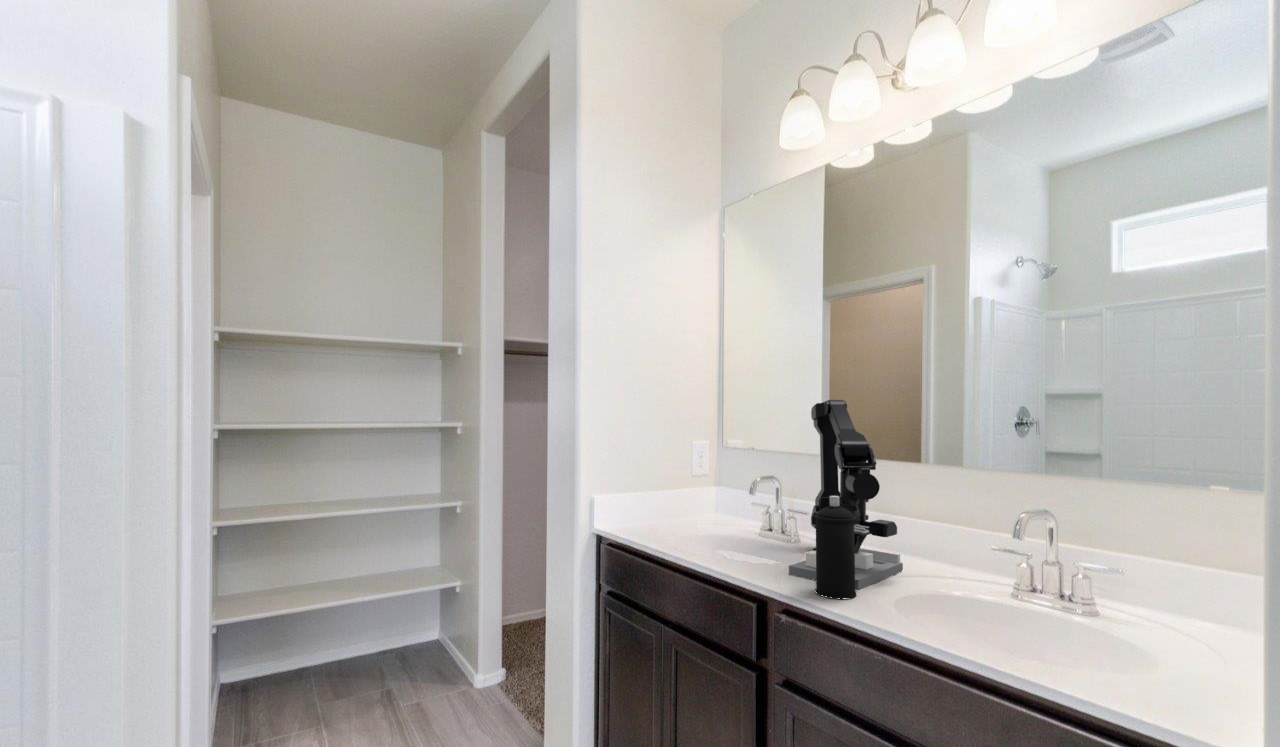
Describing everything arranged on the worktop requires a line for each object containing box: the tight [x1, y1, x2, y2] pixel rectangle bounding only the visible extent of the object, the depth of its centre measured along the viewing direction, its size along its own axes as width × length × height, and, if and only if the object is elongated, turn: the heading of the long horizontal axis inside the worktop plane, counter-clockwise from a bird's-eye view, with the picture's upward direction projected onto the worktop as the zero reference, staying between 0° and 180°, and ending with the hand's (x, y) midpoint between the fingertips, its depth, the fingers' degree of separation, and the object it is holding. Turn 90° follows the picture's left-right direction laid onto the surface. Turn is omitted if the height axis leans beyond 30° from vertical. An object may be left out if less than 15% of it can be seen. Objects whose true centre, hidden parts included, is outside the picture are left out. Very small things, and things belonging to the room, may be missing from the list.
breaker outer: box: [805, 550, 816, 568], centre depth 145 cm, size 3×3×3 cm
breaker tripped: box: [855, 552, 873, 570], centre depth 144 cm, size 3×3×3 cm
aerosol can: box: [814, 496, 857, 600], centre depth 131 cm, size 8×8×20 cm
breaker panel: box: [788, 546, 904, 591], centre depth 147 cm, size 22×17×4 cm
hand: (852, 560), depth 146 cm, fingers closed
